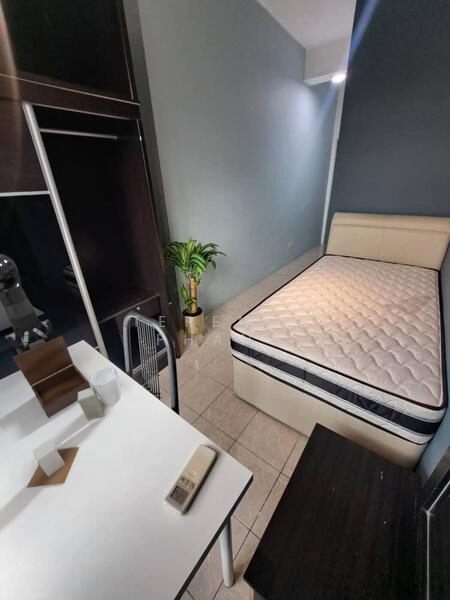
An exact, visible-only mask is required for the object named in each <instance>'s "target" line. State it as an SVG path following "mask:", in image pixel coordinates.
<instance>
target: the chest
mask: <svg viewBox="0 0 450 600" xmlns="http://www.w3.org/2000/svg"><path fill="white" fill-rule="evenodd" d="M91 387H92V385H91V384H90V382H89V381H88V379H87V378H86V377H85V376H84V375H83V373H82V372H81V371H80V370H79V369H78V367H77V366H76V365H75V364H74V363H73V364H72V365H70V366H68V367H66V368H64V369H63V370H61V371H59V372H57V373H55V374H53V375H51V376H49V377H47V378H45V379H43V380H41V381H40V382H38V383H36V384H34V385H32V386H30V388H31V390H32V392H33V393H34V395H35V397H36V400H37V401H38V403H39V404H40V406H41V408H42V410H43V412H44V413H45V415H46V417H47V418H48V419H50V418H51V417H53V416H55V415H56V414H58V413H60V412H61V411H63V410H65V409H66V408H68V407H69V406H71V405H72V404H74V403H75V402H78V401H77V398H78V392H80V391H83V390H85V389H88V388H91Z"/></svg>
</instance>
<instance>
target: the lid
mask: <svg viewBox="0 0 450 600" xmlns="http://www.w3.org/2000/svg"><path fill="white" fill-rule="evenodd" d="M28 346H29V348H30V350H28V351H24V352H22V353H19V354H17V355H14V356H13V357H12V358H13V360H14V362H15V364H16V365H17V367H18V368H19V371H21V373H22V375H23V377H24V378H25V380H26V381H27V384H29V386H30V387H31V386H33V385H35V384H37V383H38V382H40V381H42V380H44V379H46V378H48V377H50V376H52V375H54V374H56V373H58V372H60V371H61V370H63V369H65V368H67V367H69V366H71V365H73V364H74V361H73V359H72V356H71V354H70V351H69V349H68V346H67V343H66V341H65V339H64V336H63V335H60V336H57V337H55V338H52V339H50V341H48V342H45V340H44V339H43V338H42V339H39V340H37V341H35V342H32V343H28Z"/></svg>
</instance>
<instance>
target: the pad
mask: <svg viewBox="0 0 450 600" xmlns="http://www.w3.org/2000/svg"><path fill="white" fill-rule="evenodd" d="M79 449H80V447H79V446H75V447H66V448H58V449H57V450H58V452H59V453H60V455H61V457H62V459H63V461H64V463H65V465H64V466H63V467H61V468H60V469H59V470H57V471H56V472H55V473H53V474H52V475H51V476H49V477H48V476H47V474H46V473H45V472H44V470H43V469H42V467H41V466H40V465H39V464H38V465H37V467H36V469H35V470H34V473H33V475H32V477H31V478H30V480H29V482H28V484H27V486H26V488H35V487H42V486H49V485H57V484H65V482H66V479H67V477H68V475H69V472H70V470H71V469H72V465H73V463H74V461H75V458H76V456H77V454H78V451H79Z"/></svg>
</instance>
